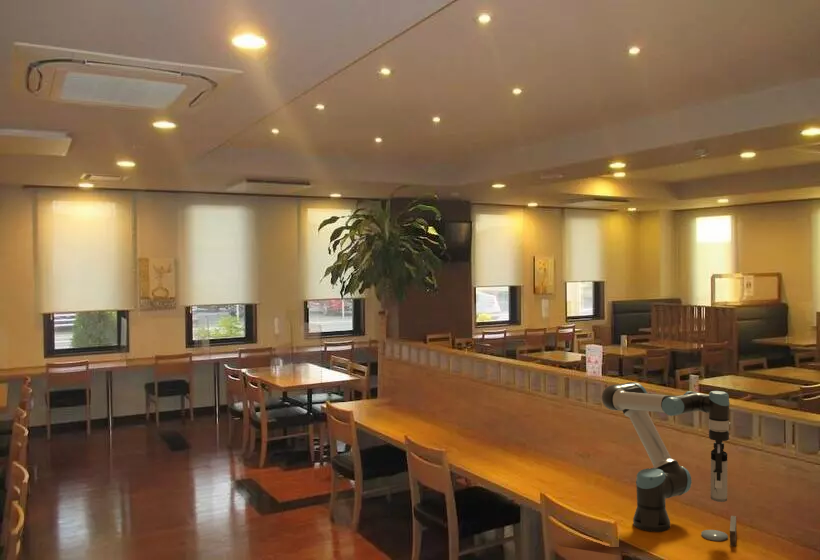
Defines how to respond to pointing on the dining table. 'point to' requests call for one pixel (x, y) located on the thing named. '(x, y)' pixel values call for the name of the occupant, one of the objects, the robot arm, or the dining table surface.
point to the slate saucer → (714, 535)
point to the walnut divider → (733, 531)
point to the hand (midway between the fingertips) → (718, 485)
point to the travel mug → (719, 493)
